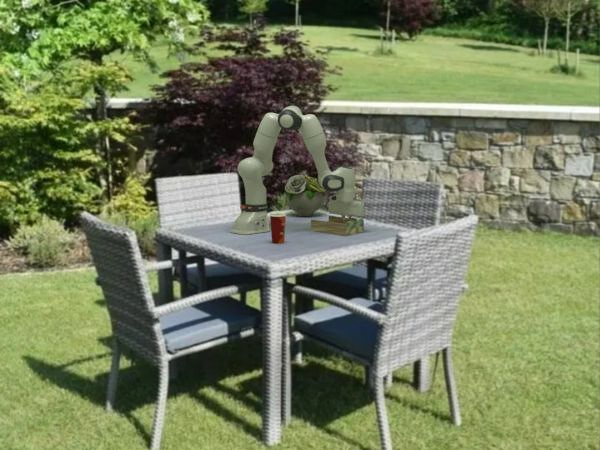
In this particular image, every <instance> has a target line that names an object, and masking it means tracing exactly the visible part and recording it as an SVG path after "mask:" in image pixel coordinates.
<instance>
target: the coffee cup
mask: <svg viewBox="0 0 600 450" xmlns="http://www.w3.org/2000/svg"><path fill="white" fill-rule="evenodd" d="M269 216H270V217H269V219H270V233H271V243H272V244H278V245H279V244H284V243H285V237H286V236H285V235H286V234H285V233H286V217H287V212H285V211H280V210H274V211H270V214H269Z"/></svg>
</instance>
